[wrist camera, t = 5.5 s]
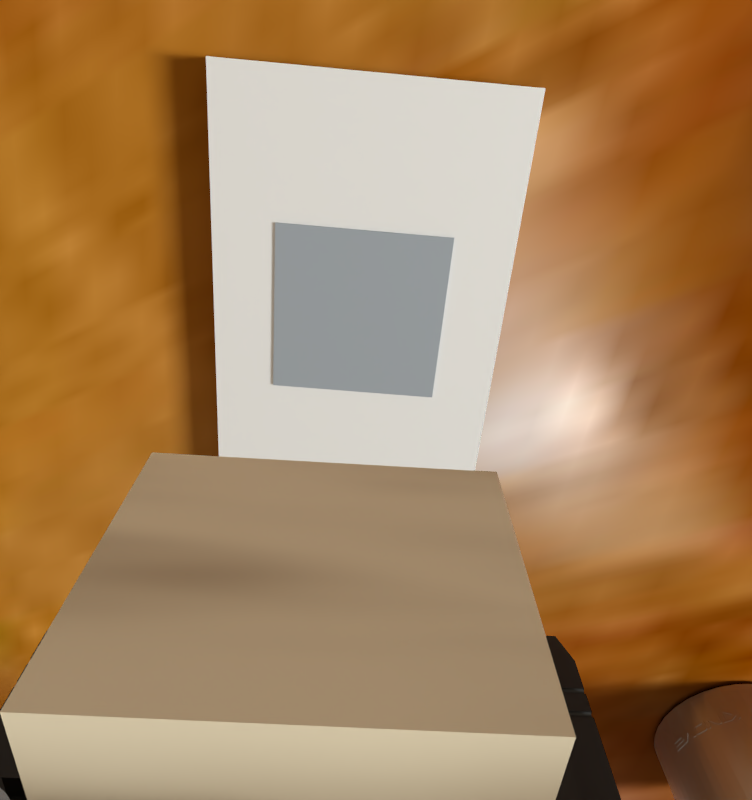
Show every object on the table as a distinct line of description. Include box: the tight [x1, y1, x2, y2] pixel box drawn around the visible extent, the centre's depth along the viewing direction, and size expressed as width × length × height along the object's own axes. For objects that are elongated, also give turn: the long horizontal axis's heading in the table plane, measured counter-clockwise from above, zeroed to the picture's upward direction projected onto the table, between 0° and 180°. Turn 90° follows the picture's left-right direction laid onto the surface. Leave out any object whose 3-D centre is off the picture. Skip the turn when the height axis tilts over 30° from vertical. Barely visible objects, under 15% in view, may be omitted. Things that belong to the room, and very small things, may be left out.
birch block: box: [0, 453, 576, 800], centre depth 10 cm, size 6×6×5 cm
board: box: [206, 56, 545, 471], centre depth 27 cm, size 18×12×1 cm, turn 175°
